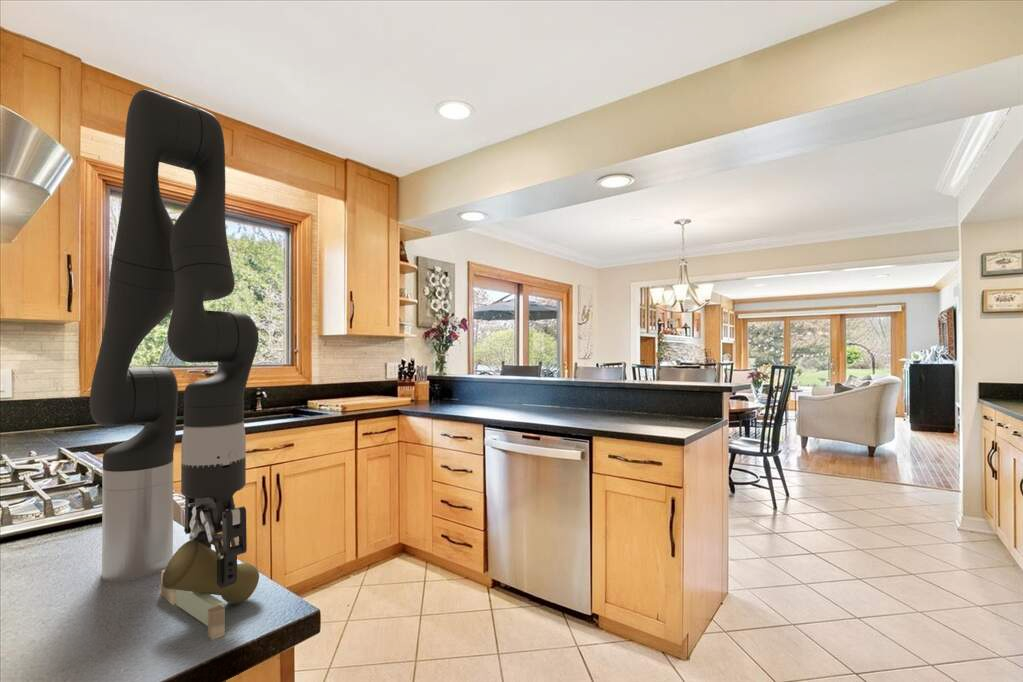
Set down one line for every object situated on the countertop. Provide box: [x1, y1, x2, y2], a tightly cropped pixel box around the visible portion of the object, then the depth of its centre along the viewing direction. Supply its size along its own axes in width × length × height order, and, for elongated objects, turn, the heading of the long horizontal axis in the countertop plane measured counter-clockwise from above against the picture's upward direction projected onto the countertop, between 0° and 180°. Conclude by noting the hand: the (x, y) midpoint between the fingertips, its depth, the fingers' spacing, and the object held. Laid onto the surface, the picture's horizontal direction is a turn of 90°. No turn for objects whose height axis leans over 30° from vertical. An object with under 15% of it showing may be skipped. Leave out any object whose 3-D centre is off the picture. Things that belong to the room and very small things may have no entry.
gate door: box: [175, 590, 226, 627], centre depth 65 cm, size 11×1×3 cm, turn 56°
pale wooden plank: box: [160, 569, 226, 641], centre depth 65 cm, size 18×1×4 cm, turn 52°
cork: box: [162, 539, 260, 605], centre depth 66 cm, size 6×6×11 cm
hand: (213, 575), depth 66 cm, fingers open, 8 cm apart
